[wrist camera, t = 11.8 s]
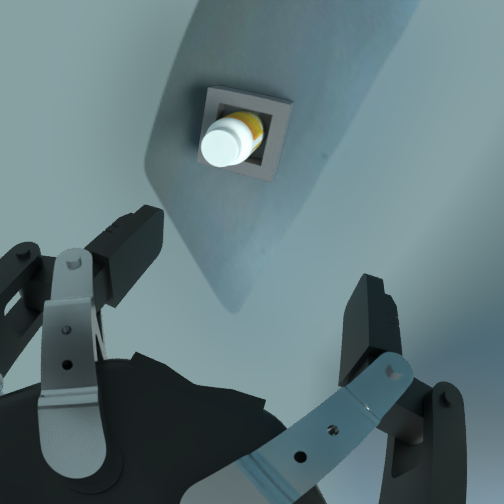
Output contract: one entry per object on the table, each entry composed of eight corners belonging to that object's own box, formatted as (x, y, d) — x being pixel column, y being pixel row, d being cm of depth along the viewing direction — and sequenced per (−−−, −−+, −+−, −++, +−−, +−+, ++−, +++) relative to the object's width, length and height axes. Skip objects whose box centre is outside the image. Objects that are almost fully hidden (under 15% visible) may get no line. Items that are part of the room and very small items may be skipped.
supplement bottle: (227, 106, 37) (195, 119, 29) (269, 113, 36) (248, 127, 28) (222, 145, 40) (192, 168, 32) (262, 153, 39) (241, 178, 31)
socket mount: (218, 85, 36) (208, 87, 34) (294, 102, 35) (290, 104, 33) (206, 154, 42) (196, 162, 39) (276, 173, 41) (271, 182, 38)
